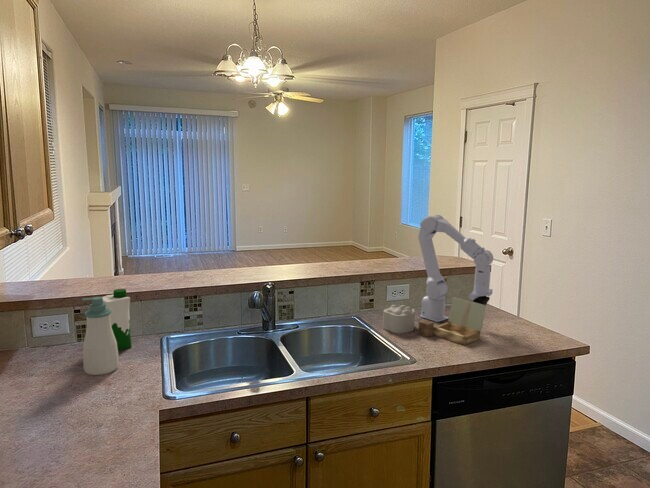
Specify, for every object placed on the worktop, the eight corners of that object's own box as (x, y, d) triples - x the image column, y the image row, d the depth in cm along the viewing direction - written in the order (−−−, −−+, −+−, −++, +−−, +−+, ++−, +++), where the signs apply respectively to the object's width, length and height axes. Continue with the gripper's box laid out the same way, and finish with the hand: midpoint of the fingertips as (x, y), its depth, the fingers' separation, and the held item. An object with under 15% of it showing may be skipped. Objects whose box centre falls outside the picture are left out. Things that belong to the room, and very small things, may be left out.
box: (433, 334, 177) (433, 327, 177) (448, 328, 184) (448, 321, 183) (465, 345, 167) (465, 337, 166) (479, 339, 173) (480, 331, 173)
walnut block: (418, 334, 178) (418, 321, 177) (424, 331, 180) (425, 319, 179) (426, 337, 175) (427, 324, 174) (433, 334, 177) (433, 322, 177)
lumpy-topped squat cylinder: (379, 327, 185) (380, 306, 183) (401, 321, 192) (402, 301, 191) (398, 334, 176) (399, 313, 175) (420, 328, 184) (421, 307, 183)
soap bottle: (86, 365, 145) (81, 295, 141) (120, 361, 148) (116, 292, 144) (81, 378, 136) (76, 304, 132) (118, 373, 139) (113, 301, 135)
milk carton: (135, 347, 159) (132, 291, 156) (108, 354, 152) (105, 296, 149) (124, 340, 165) (121, 286, 162) (98, 347, 158) (94, 291, 155)
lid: (452, 296, 183) (453, 296, 183) (448, 321, 183) (449, 321, 184) (484, 305, 172) (485, 305, 173) (480, 331, 173) (481, 331, 174)
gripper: (481, 286, 175) (478, 320, 177) (500, 280, 184) (497, 312, 186) (465, 282, 180) (462, 315, 182) (484, 277, 189) (481, 308, 192)
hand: (479, 313), depth 185 cm, fingers closed
